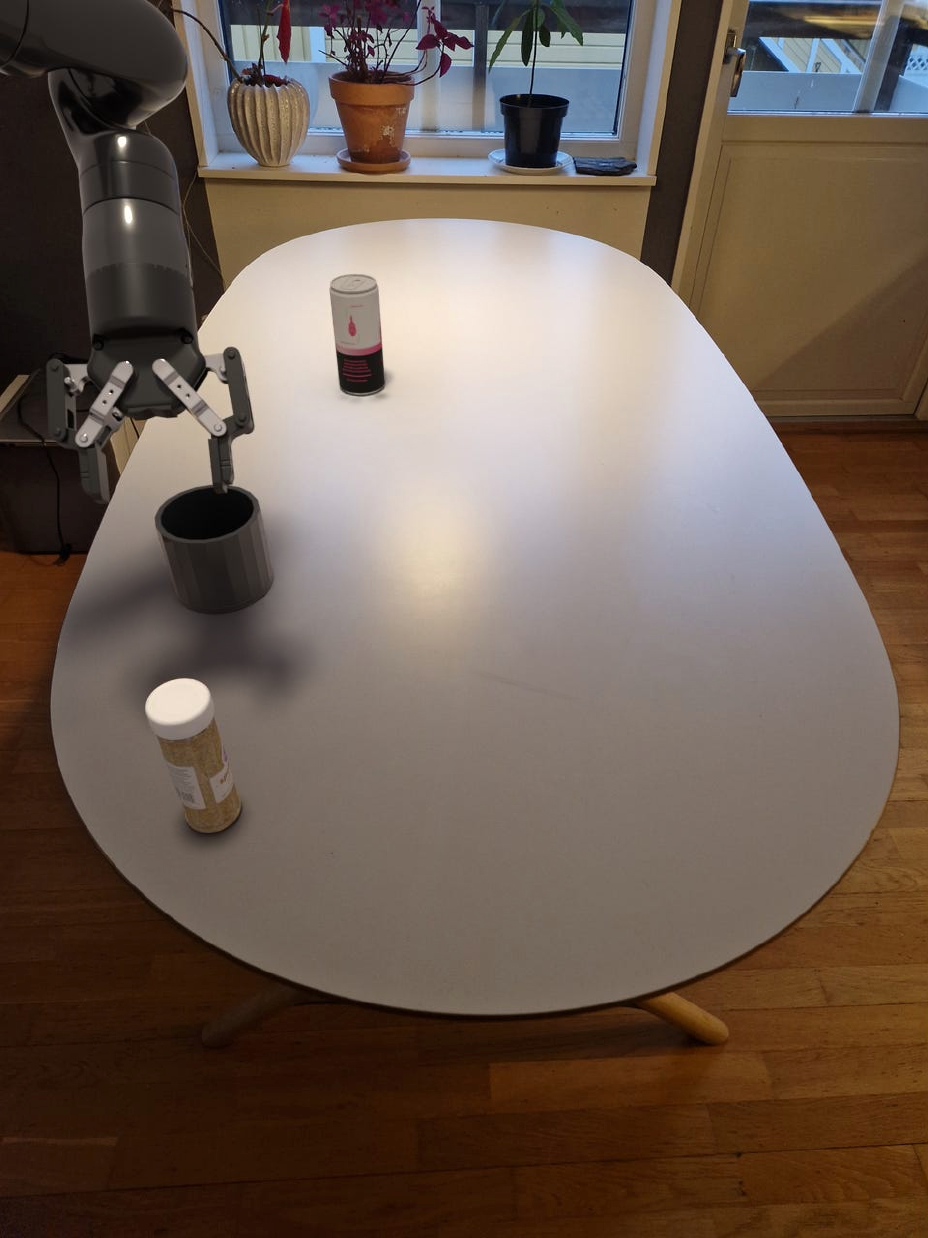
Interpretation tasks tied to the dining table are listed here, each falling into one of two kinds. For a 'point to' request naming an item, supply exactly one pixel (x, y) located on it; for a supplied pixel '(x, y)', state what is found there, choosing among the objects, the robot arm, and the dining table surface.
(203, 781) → the sprinkles bottle
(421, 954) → the dining table surface
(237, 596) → the dark gray cylindrical container
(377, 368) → the beverage can
